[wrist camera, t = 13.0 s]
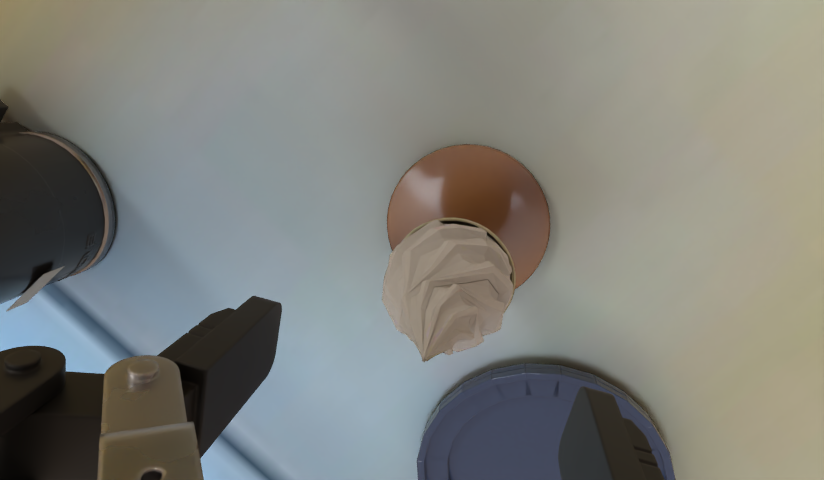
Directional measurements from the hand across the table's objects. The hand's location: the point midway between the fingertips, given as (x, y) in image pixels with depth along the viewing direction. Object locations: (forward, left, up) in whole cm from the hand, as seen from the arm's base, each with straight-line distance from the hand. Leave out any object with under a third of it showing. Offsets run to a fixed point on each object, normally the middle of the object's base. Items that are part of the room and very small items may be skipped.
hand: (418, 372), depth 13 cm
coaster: (0, 0, -16) cm, 16 cm away
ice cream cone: (0, 0, -16) cm, 16 cm away
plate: (+14, -8, -16) cm, 23 cm away
